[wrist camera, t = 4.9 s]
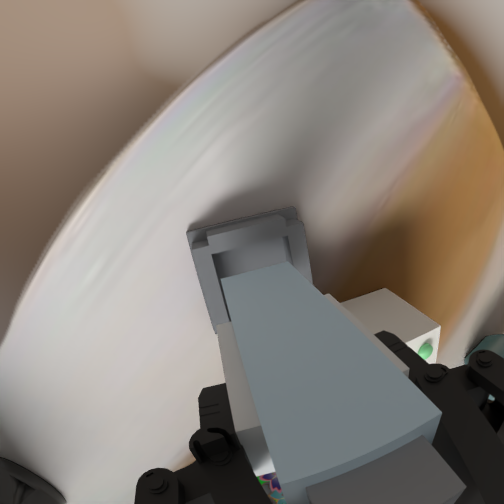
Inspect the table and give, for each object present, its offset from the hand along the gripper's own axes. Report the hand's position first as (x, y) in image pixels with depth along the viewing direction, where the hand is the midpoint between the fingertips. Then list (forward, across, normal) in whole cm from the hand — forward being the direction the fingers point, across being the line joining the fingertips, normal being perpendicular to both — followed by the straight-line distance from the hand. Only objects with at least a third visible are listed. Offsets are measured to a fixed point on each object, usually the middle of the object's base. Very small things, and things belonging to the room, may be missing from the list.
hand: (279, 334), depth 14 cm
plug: (+4, 0, 0) cm, 4 cm away
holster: (+10, 0, 0) cm, 10 cm away
